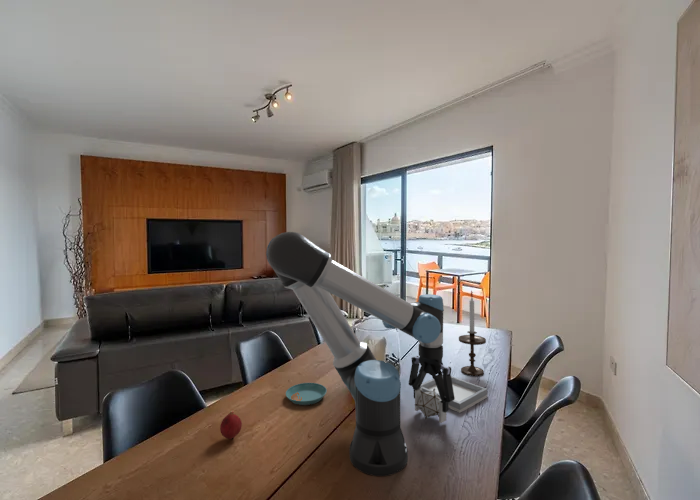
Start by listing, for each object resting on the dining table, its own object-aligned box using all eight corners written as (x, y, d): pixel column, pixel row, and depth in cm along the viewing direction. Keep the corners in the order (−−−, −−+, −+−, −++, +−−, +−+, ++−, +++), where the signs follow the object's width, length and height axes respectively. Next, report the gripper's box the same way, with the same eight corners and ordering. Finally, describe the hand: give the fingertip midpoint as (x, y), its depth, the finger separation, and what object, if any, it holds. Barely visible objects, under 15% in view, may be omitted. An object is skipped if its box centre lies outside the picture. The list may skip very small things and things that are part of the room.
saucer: (277, 399, 121) (277, 392, 121) (309, 386, 132) (308, 379, 132) (303, 413, 111) (303, 405, 111) (335, 397, 122) (335, 390, 122)
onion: (229, 447, 93) (228, 418, 93) (216, 441, 96) (215, 413, 96) (246, 436, 98) (245, 409, 98) (233, 431, 101) (232, 404, 101)
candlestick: (481, 379, 135) (481, 292, 134) (455, 373, 142) (454, 290, 141) (489, 370, 144) (488, 289, 143) (463, 365, 150) (463, 287, 149)
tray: (460, 412, 109) (459, 403, 109) (416, 393, 123) (416, 385, 123) (487, 397, 120) (487, 388, 120) (444, 381, 134) (444, 373, 134)
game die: (435, 430, 105) (447, 414, 99) (409, 417, 106) (419, 401, 100) (439, 405, 112) (450, 389, 106) (415, 394, 113) (424, 377, 108)
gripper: (467, 350, 100) (467, 425, 100) (412, 334, 117) (412, 399, 117) (453, 355, 95) (452, 434, 96) (397, 338, 112) (397, 405, 112)
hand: (430, 415), depth 106 cm, fingers closed on game die, 9 cm apart
